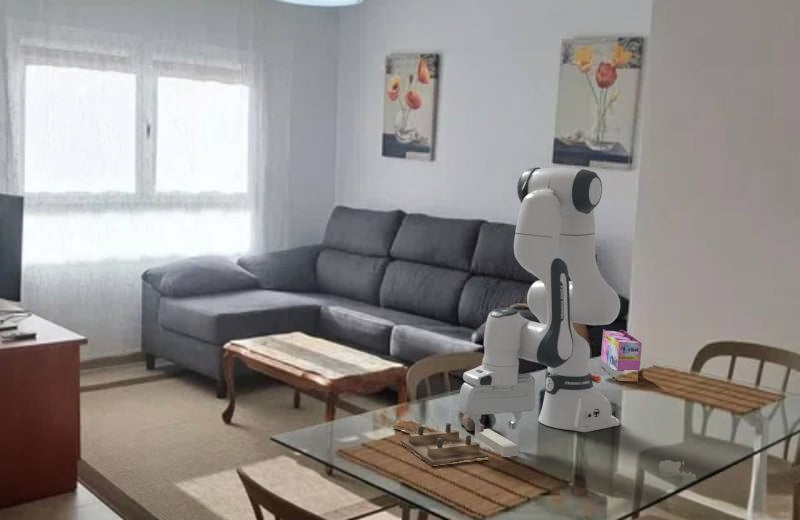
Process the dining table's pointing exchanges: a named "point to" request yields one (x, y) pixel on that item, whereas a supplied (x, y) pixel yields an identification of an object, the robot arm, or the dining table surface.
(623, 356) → the gum box
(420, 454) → the walnut rack
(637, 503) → the dining table surface
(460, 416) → the bison figurine
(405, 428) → the shard
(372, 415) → the dining table surface
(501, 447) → the clay strip
